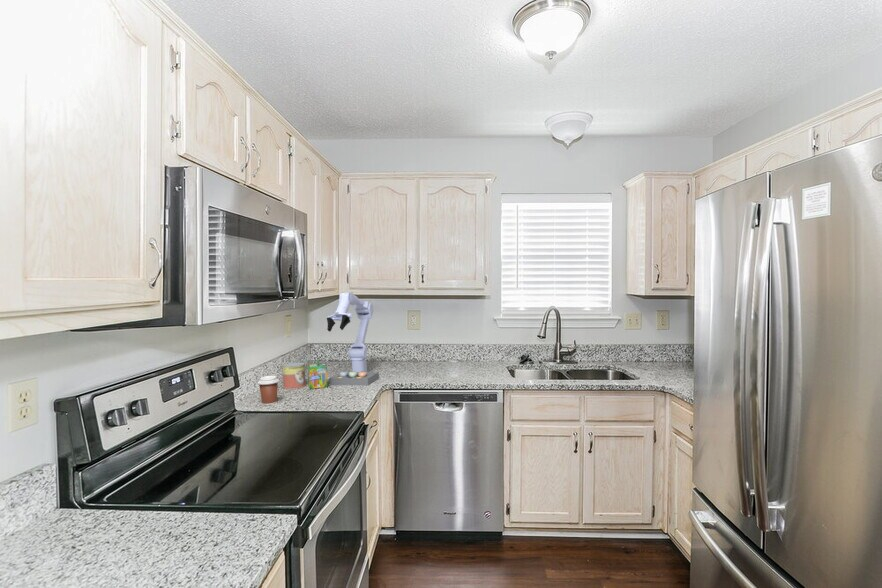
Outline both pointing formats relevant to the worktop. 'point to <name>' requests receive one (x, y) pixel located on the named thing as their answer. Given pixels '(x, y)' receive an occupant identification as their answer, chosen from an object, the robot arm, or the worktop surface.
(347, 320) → the robot arm
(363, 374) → the button terracotta
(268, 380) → the coffee cup
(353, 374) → the button sage
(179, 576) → the worktop surface
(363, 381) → the console
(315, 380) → the chalk box
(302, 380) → the canned food
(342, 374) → the button slate
